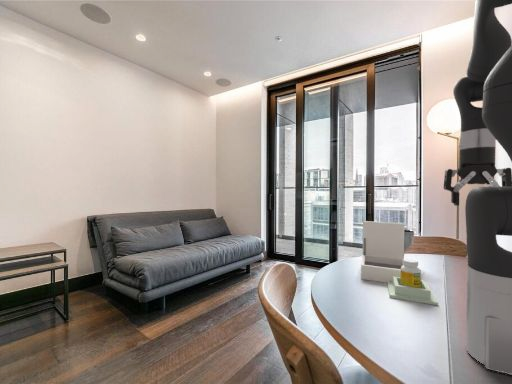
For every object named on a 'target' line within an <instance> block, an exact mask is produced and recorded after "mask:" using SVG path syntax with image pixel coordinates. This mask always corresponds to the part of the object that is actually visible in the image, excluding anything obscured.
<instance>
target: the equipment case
mask: <svg viewBox="0 0 512 384" xmlns="http://www.w3.org/2000/svg"><path fill="white" fill-rule="evenodd" d="M404 229H405V223H403V222H401V223H400V222H387V221H386V222H385V221H384V222H383V221H371V220H369V221H368V220H365V221H364V220H363V221H362V256H361V265H360V279H361V280H367V281H374V282H382V283H387V284H388V281H389V282H393V276H395V277H401V267H402V266H403V265H404V264H403V259H405V253H404Z"/></svg>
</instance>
